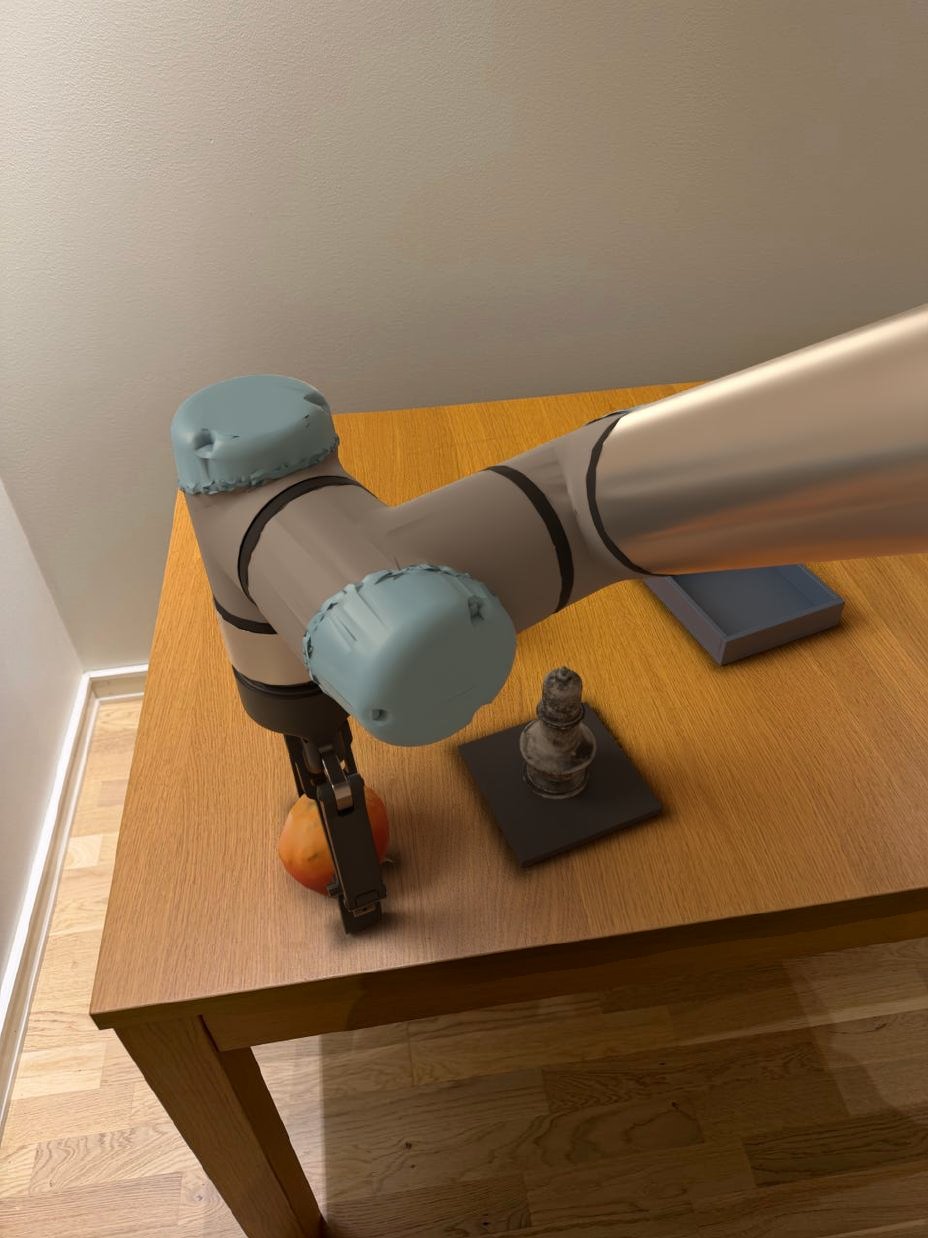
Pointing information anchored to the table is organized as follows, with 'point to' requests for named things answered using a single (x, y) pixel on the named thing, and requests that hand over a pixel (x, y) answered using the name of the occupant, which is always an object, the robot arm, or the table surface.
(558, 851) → the mat
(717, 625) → the tray
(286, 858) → the fruit
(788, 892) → the table surface
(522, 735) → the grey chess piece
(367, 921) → the robot arm
